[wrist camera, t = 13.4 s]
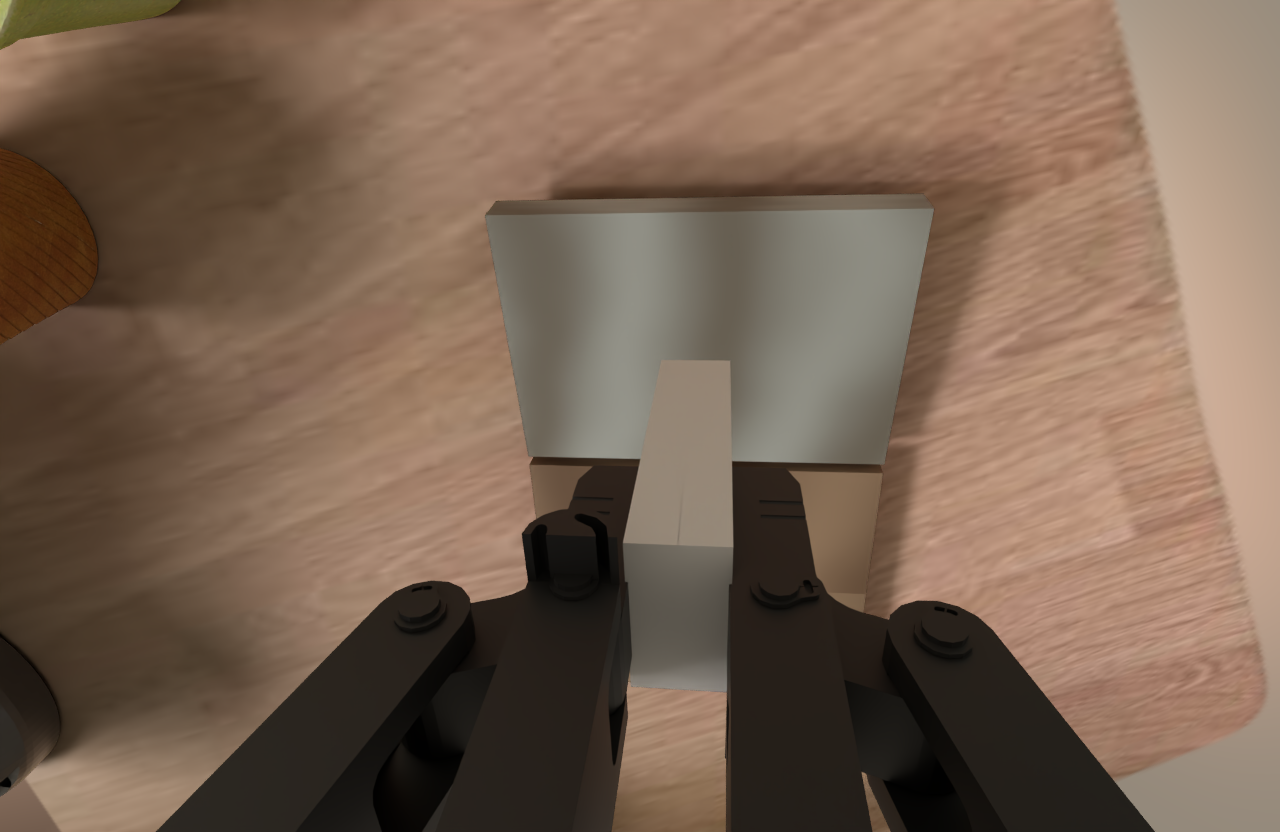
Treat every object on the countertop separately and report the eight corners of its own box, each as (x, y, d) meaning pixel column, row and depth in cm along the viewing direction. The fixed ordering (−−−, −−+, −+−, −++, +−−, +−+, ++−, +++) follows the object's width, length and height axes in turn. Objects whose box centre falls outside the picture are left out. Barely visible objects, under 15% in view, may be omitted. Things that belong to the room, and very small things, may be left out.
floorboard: (561, 656, 35) (555, 678, 34) (537, 448, 30) (529, 464, 29) (847, 671, 34) (851, 695, 33) (876, 455, 29) (882, 473, 27)
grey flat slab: (535, 435, 30) (528, 456, 29) (496, 200, 24) (485, 215, 23) (877, 442, 28) (884, 464, 27) (923, 193, 22) (933, 208, 21)
